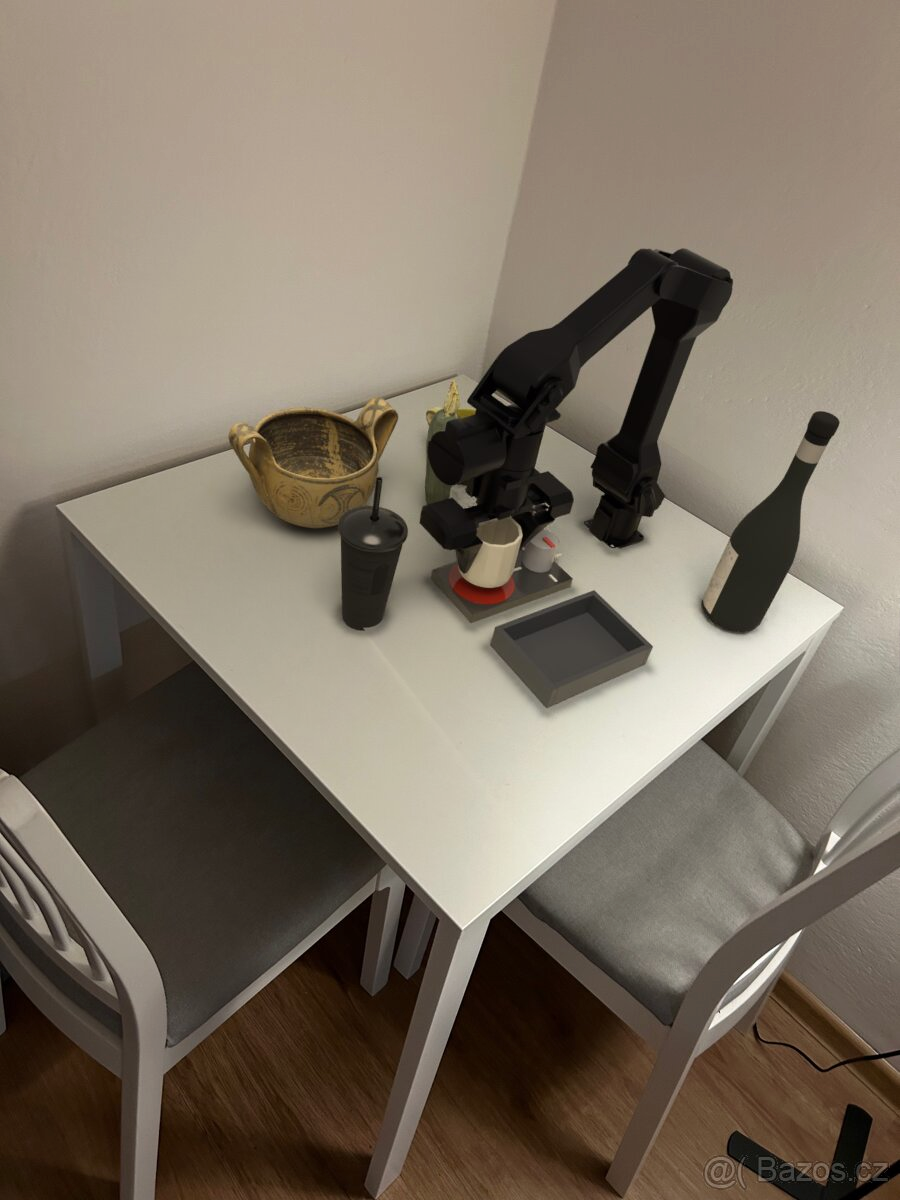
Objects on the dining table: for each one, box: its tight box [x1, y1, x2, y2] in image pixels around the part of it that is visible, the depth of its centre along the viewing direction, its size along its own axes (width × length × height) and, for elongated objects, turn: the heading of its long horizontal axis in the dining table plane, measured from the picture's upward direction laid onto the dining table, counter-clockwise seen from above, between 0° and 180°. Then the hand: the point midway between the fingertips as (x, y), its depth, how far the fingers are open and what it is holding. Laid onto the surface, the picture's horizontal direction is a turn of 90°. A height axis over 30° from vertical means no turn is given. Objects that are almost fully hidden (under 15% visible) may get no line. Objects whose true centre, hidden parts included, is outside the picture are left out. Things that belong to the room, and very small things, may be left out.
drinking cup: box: [337, 476, 409, 632], centre depth 100 cm, size 8×8×20 cm
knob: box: [522, 528, 560, 573], centre depth 115 cm, size 4×4×4 cm
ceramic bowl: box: [227, 396, 399, 529], centre depth 116 cm, size 22×17×15 cm
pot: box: [458, 516, 523, 588], centre depth 109 cm, size 7×7×6 cm
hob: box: [430, 545, 574, 624], centre depth 115 cm, size 18×9×2 cm, turn 124°
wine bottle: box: [701, 410, 841, 634], centre depth 108 cm, size 8×8×30 cm
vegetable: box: [424, 379, 461, 505], centre depth 118 cm, size 4×4×20 cm
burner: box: [448, 563, 515, 605], centre depth 112 cm, size 8×8×1 cm
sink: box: [489, 589, 654, 709], centre depth 106 cm, size 16×11×4 cm
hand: (486, 563), depth 110 cm, fingers closed on pot, 7 cm apart
